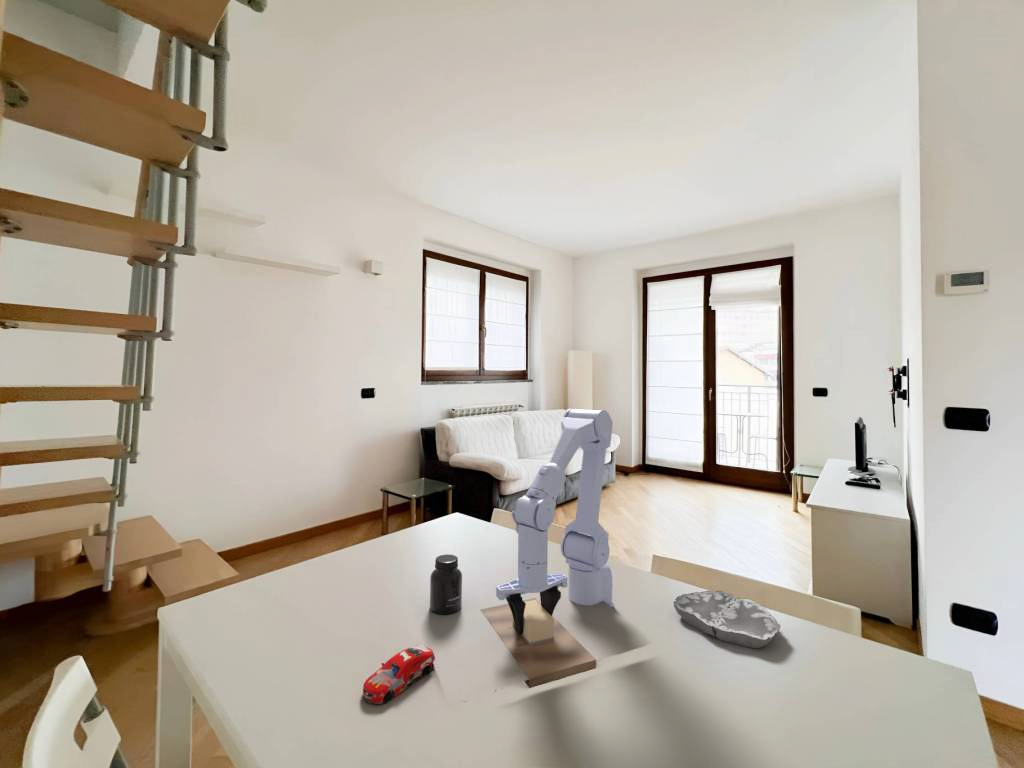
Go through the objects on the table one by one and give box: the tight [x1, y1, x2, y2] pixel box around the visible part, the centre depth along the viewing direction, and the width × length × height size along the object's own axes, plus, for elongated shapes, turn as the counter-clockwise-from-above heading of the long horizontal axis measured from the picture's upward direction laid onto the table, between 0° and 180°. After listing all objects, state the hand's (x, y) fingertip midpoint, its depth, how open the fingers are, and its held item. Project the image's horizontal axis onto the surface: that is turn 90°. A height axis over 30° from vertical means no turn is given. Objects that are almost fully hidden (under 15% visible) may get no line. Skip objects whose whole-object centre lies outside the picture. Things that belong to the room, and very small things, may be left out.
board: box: [480, 597, 597, 689], centre depth 86 cm, size 24×13×2 cm, turn 24°
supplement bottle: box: [429, 554, 463, 616], centre depth 95 cm, size 7×7×12 cm
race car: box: [362, 644, 436, 705], centre depth 74 cm, size 13×5×4 cm, turn 142°
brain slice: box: [673, 590, 781, 649], centre depth 92 cm, size 20×17×3 cm
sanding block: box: [513, 600, 555, 646], centre depth 86 cm, size 5×8×4 cm, turn 23°
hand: (532, 628), depth 86 cm, fingers closed on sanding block, 5 cm apart
